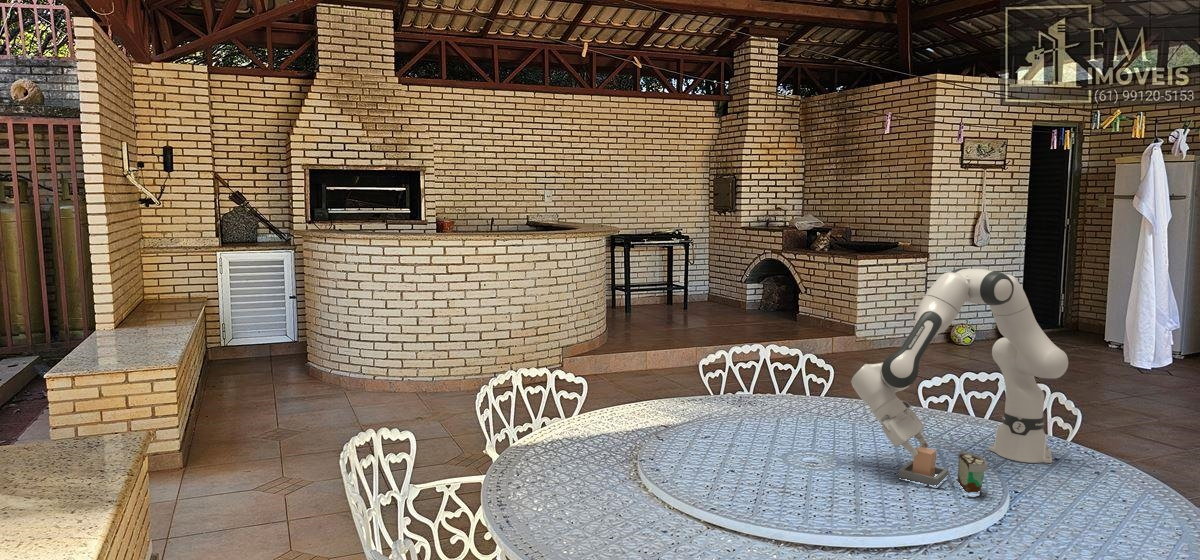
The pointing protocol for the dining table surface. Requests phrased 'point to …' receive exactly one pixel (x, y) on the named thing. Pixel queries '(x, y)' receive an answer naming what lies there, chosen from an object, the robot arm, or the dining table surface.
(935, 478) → the tray
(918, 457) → the tan rounded block
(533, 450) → the dining table surface
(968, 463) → the food container
